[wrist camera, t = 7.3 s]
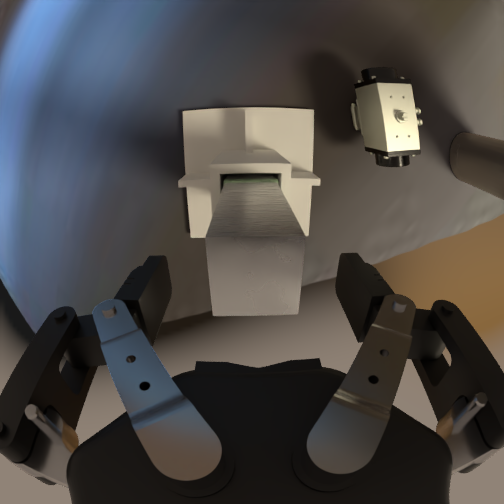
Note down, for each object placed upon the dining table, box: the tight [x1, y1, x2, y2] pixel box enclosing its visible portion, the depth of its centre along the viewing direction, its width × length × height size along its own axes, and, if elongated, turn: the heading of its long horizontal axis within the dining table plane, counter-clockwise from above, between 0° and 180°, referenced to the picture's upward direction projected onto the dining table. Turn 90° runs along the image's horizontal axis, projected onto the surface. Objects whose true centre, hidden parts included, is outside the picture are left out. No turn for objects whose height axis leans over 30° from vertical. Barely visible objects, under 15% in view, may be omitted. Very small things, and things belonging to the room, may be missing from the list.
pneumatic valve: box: [350, 67, 422, 167], centre depth 27 cm, size 6×12×12 cm, turn 12°
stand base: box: [178, 107, 320, 238], centre depth 29 cm, size 17×18×16 cm
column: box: [205, 173, 305, 316], centre depth 20 cm, size 4×4×20 cm
